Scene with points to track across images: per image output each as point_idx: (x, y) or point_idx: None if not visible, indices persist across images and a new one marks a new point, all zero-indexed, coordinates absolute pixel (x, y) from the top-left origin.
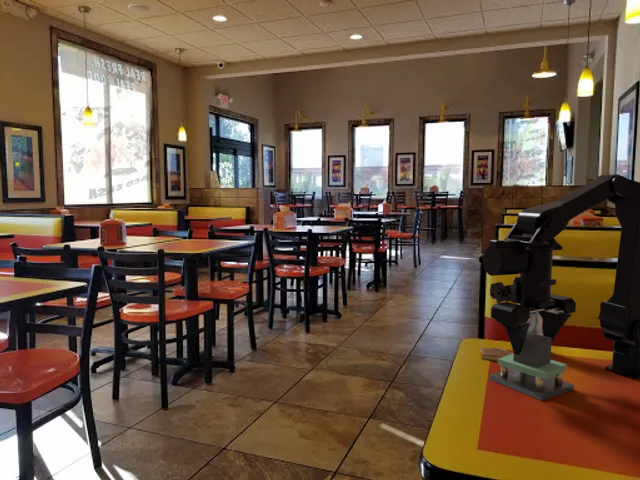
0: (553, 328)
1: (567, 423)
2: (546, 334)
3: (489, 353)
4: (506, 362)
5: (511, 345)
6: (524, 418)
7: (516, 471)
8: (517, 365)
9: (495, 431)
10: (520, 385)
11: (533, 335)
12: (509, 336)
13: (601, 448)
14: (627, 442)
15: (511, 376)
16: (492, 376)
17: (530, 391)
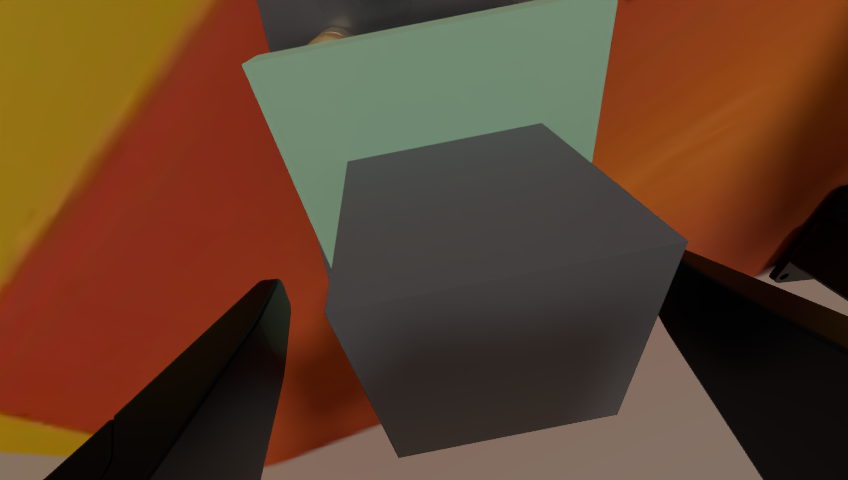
0: (781, 450)
1: (291, 373)
2: (736, 333)
3: None
4: (279, 149)
5: (204, 332)
6: (179, 333)
7: (16, 449)
8: (314, 226)
9: (25, 356)
10: None
11: (577, 346)
12: (98, 450)
13: (275, 433)
14: (347, 430)
15: None
16: (259, 5)
17: (322, 253)
